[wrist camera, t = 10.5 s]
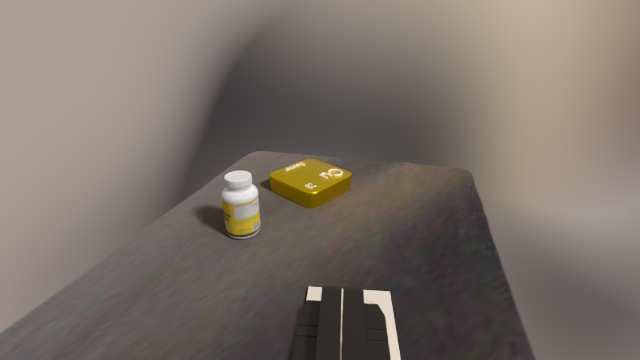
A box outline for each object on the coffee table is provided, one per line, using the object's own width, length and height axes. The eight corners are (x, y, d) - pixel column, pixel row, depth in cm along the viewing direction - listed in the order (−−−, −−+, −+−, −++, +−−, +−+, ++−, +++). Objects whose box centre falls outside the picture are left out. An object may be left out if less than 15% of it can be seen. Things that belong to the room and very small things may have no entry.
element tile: (310, 171, 89) (310, 155, 87) (354, 188, 80) (355, 171, 77) (266, 190, 79) (265, 172, 77) (311, 212, 70) (311, 192, 67)
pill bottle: (232, 220, 65) (225, 167, 60) (264, 222, 65) (260, 168, 60) (221, 240, 60) (213, 183, 55) (256, 241, 59) (251, 184, 54)
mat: (411, 430, 32) (412, 424, 31) (289, 420, 32) (288, 414, 32) (389, 293, 48) (390, 288, 47) (308, 288, 49) (308, 283, 48)
